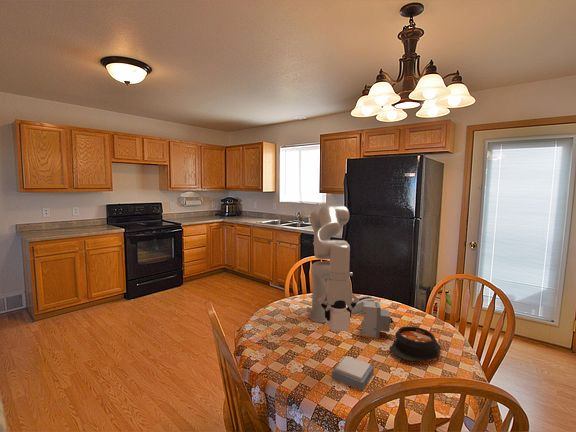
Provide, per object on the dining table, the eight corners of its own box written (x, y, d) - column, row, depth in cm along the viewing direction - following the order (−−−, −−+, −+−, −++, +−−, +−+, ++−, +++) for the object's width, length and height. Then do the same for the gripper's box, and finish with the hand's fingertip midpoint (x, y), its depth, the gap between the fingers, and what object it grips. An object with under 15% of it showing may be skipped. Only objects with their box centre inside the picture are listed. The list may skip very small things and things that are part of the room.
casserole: (414, 335, 146) (415, 319, 146) (451, 354, 131) (453, 335, 130) (378, 349, 133) (379, 331, 132) (415, 372, 118) (417, 351, 117)
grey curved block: (366, 305, 183) (371, 292, 179) (372, 311, 179) (377, 297, 175) (345, 311, 175) (350, 297, 171) (350, 316, 171) (355, 302, 167)
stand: (331, 378, 113) (332, 368, 112) (344, 363, 123) (344, 353, 122) (362, 390, 106) (363, 380, 106) (373, 373, 116) (374, 363, 116)
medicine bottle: (349, 330, 116) (351, 300, 115) (332, 332, 114) (333, 301, 113) (341, 322, 123) (342, 293, 122) (325, 324, 121) (326, 295, 120)
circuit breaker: (392, 339, 142) (394, 309, 141) (361, 336, 145) (363, 306, 144) (390, 332, 150) (392, 303, 148) (361, 329, 153) (362, 300, 151)
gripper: (357, 272, 121) (356, 314, 123) (315, 273, 120) (314, 315, 121) (364, 278, 114) (362, 322, 116) (319, 278, 112) (318, 324, 114)
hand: (337, 318), depth 118 cm, fingers closed on medicine bottle, 7 cm apart
